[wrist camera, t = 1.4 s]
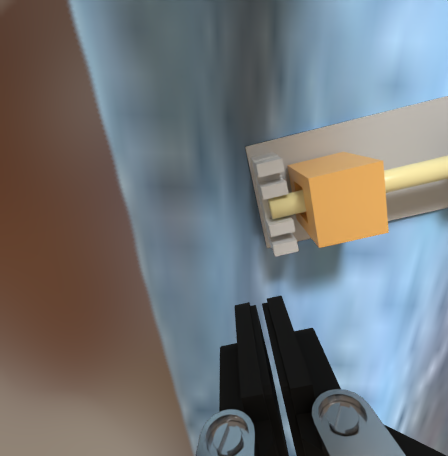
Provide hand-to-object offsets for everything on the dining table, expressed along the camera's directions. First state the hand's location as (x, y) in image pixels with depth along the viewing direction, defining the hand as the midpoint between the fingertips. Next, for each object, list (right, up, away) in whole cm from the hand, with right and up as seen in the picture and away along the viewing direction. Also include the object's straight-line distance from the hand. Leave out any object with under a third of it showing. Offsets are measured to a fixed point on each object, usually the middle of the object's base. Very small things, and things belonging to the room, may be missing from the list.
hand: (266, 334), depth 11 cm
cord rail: (+12, +9, +17) cm, 23 cm away
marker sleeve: (+7, +8, +17) cm, 20 cm away
